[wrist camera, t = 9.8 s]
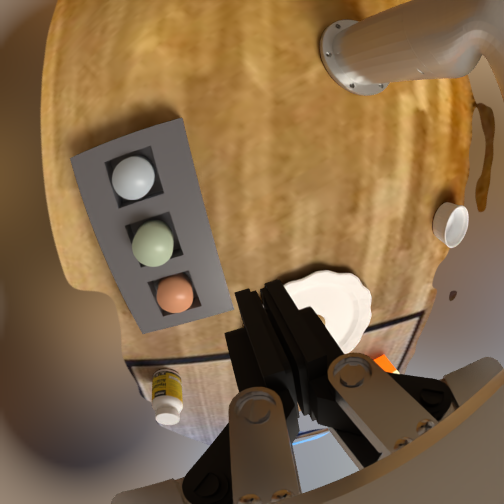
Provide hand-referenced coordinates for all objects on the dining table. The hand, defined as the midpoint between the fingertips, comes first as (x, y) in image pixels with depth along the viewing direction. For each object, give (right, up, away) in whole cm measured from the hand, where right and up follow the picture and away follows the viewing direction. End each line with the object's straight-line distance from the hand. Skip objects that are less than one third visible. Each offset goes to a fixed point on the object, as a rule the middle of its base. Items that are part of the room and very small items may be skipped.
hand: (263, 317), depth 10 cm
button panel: (-13, +5, +25) cm, 29 cm away
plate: (+10, -11, +39) cm, 42 cm away
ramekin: (+39, +9, +37) cm, 54 cm away
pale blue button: (-14, +12, +20) cm, 27 cm away
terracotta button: (-11, -2, +27) cm, 29 cm away
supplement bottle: (-16, -21, +36) cm, 45 cm away
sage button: (-12, +4, +23) cm, 26 cm away
